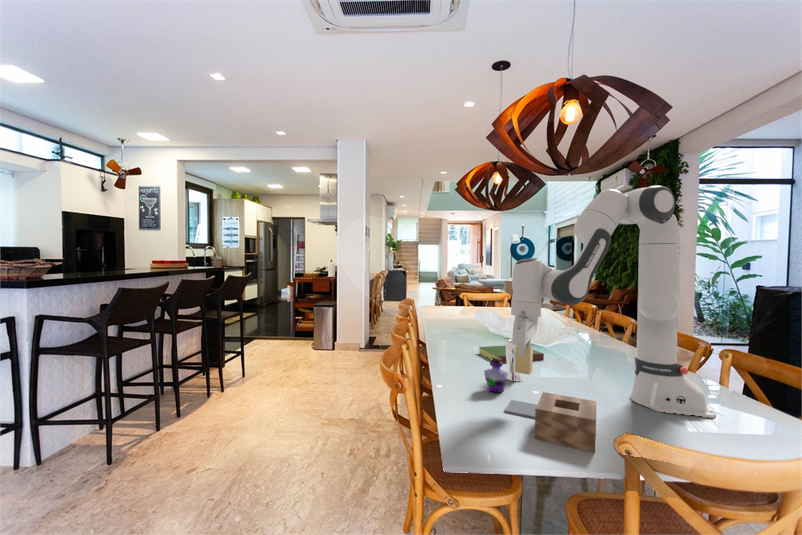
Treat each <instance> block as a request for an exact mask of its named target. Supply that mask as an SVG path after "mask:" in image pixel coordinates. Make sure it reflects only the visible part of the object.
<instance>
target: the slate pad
mask: <svg viewBox="0 0 802 535" xmlns="http://www.w3.org/2000/svg"><path fill="white" fill-rule="evenodd" d="M537 404H538V403H530V402H525V401H520V400H515V399H511V400H510V401H509V402H508V404H507V405H506V407H505V408H504V411H503V412H504V413H506V414H509V415H510V414H511V415H515V416H521V417H525V418H529V419H534V420H535V408H536V406H537Z"/></svg>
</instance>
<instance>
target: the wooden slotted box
mask: <svg viewBox="0 0 802 535" xmlns="http://www.w3.org/2000/svg"><path fill="white" fill-rule="evenodd" d="M597 402H598V401H596V400H591V399H585V398H580V397H574V396H567V395H564V394H563V395H562V394H557V393H550V392H545V391H543V392H542V393H541V395H540V398H539V400H538V402H537V403H536V404H537V406H536V408H535V419H534V423H535V424H534V439H535V440H539V441H543V442H547V443H552V444H556V445H561V446H565V447H569V448H573V449H578V450H580V451H581V450H582V451H587V452H591V453H596V436H597Z"/></svg>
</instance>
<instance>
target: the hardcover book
mask: <svg viewBox="0 0 802 535" xmlns="http://www.w3.org/2000/svg"><path fill="white" fill-rule="evenodd" d="M478 348H479V352H478V354H479V353H481V354H482V356H483V355H484V356H483V357H485V356H486V357H485V358H487V357H488V358H487V359H489V358H490V359H489V360H491V359H492V358H501V362H503V364H507V361H506V345H494V346H493V345H492V346H491V345H488V346H478ZM481 354H480V355H481ZM544 356H545V353H543V352H541V351H538V350H536V349H533V362H538V361H539V362H540V360H541V361H544V359H545V357H544Z"/></svg>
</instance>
